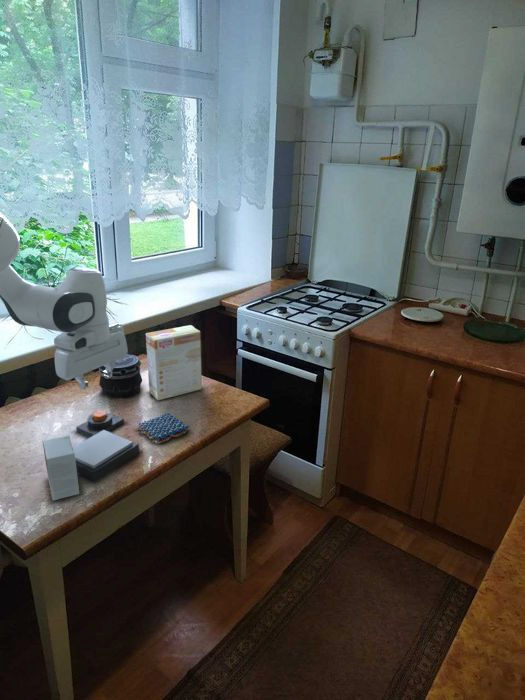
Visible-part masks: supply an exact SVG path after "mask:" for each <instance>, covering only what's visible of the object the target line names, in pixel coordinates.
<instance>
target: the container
mask: <svg viewBox="0 0 525 700" xmlns="http://www.w3.org/2000/svg"><path fill="white" fill-rule="evenodd" d="M141 365H142V362H141V361H140V359H139V357H138V356H136V355H133V354H129V353H127V354H126V356H125V357H122V358H120V359H117V360H115V365H114V368H113V370H112V377H110V378H108V379H107V378H104V376H103V375H104V374H103V371H105V369H106V366H107V364H106V365H103V366H101V367H99V368H98V370H99V371H98V372H99V375H100V377H99V387H100V388H101V390H102V393H103V395H104V396H106V397H108V398H116V399H117V398H119V399H120V398H128V397H131V396H133V395H135V394H137V393H139V392H140V390H141V385H142V383H143V377H142V375H141Z"/></svg>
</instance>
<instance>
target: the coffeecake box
mask: <svg viewBox="0 0 525 700" xmlns="http://www.w3.org/2000/svg"><path fill="white" fill-rule="evenodd" d="M201 337H202V335H201V331H200V329H197V328H195V326H193V325H192V324H189V325H183V326H179V327H173V328H168V329H167V328H166V329H162V330H156V331H150V332H146V333H145V347H146V362H147V375H148V389H149V390H148V391H149V393H150V394H151V395H152V396H153V397H154V398H155V399H156V400H157V401H162V400H166V399H168V398H173V397H177V396H181V395H184V394H189V393H193V392H196V391H200V390H202V388H203V387H202V386H203V385H202V382H203V381H202V344H201V343H202V341H201Z"/></svg>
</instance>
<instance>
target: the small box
mask: <svg viewBox="0 0 525 700" xmlns="http://www.w3.org/2000/svg"><path fill="white" fill-rule="evenodd" d="M72 447H73V444H72V441H71V437H70V435H65V436H59V437H54V438H48V439H44V440H42V449H43V454H44V461H45V467H46V475H47V480H48V484H49V490H50V495H51V500H52V501H53V502H54V501H57V500H61V499H64V498H68V497H72V496H77V495H80V487H79V479H78V477H79V476H78V473H77V469H76V460H75V453H74V451H73V448H72Z"/></svg>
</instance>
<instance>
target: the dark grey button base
mask: <svg viewBox="0 0 525 700" xmlns="http://www.w3.org/2000/svg"><path fill="white" fill-rule="evenodd" d="M105 412H106V419H105V420H103V421H94V419H93V413H91V414H90V415H88V417H86V418H87V419H86V420H87V421H85V422H83V423H81V424H79V425H77V426H76V427H75V428H76V432H77V433H80V434H82V435H84V436H86V437H88V438H90V437H92V436H94V435H95V434H97V433H99V432H101V431H103V430H106V431H109V432H111V431H112V430H115V429H116V428H118V427H119V426H121V425H124V424H125V420H124V418H123V417H119V416H117V415H115V414H113V413H110V412H107V411H105Z"/></svg>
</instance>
